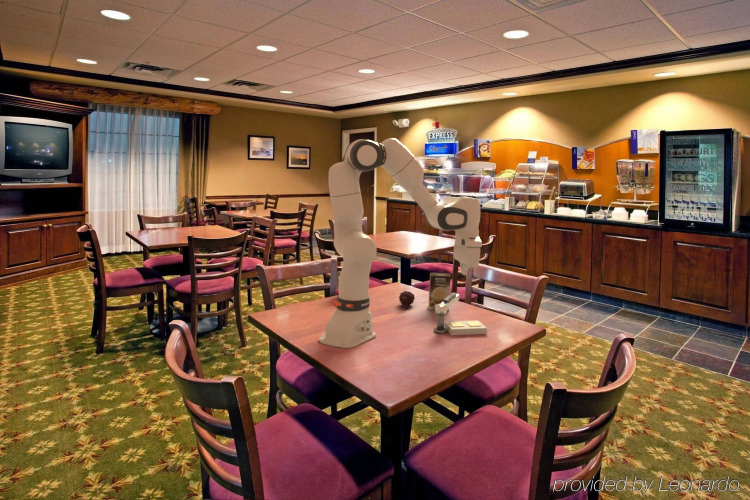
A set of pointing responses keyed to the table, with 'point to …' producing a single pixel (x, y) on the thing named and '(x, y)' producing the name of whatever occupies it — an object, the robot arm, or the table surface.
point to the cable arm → (446, 303)
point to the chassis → (465, 327)
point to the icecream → (406, 298)
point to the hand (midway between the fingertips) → (464, 274)
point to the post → (440, 324)
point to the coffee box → (438, 288)
